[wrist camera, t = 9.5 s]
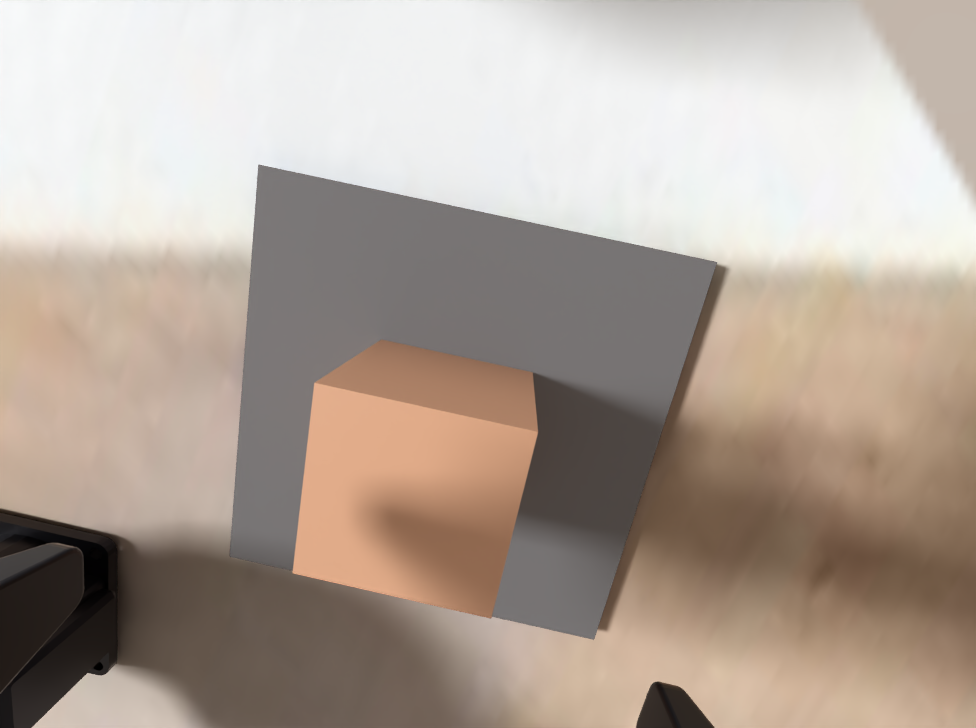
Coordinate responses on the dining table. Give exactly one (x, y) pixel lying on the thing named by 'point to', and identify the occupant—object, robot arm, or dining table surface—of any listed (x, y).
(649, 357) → the charcoal mat
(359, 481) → the peach block
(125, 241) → the dining table surface
